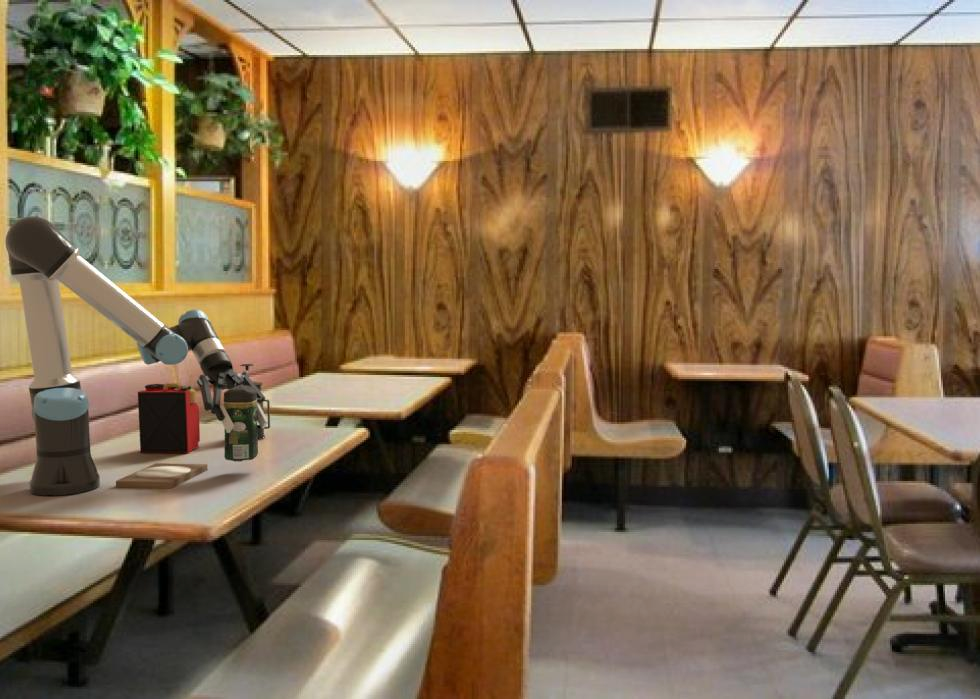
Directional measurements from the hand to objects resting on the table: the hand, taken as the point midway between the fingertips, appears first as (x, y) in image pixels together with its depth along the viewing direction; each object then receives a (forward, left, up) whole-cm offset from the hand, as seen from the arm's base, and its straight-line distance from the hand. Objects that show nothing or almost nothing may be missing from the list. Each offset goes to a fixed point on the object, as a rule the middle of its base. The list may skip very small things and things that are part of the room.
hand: (248, 427), depth 229 cm
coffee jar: (+1, +3, -9) cm, 9 cm away
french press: (+40, +35, -13) cm, 55 cm away
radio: (+15, +43, -13) cm, 48 cm away
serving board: (-12, +17, -12) cm, 24 cm away
